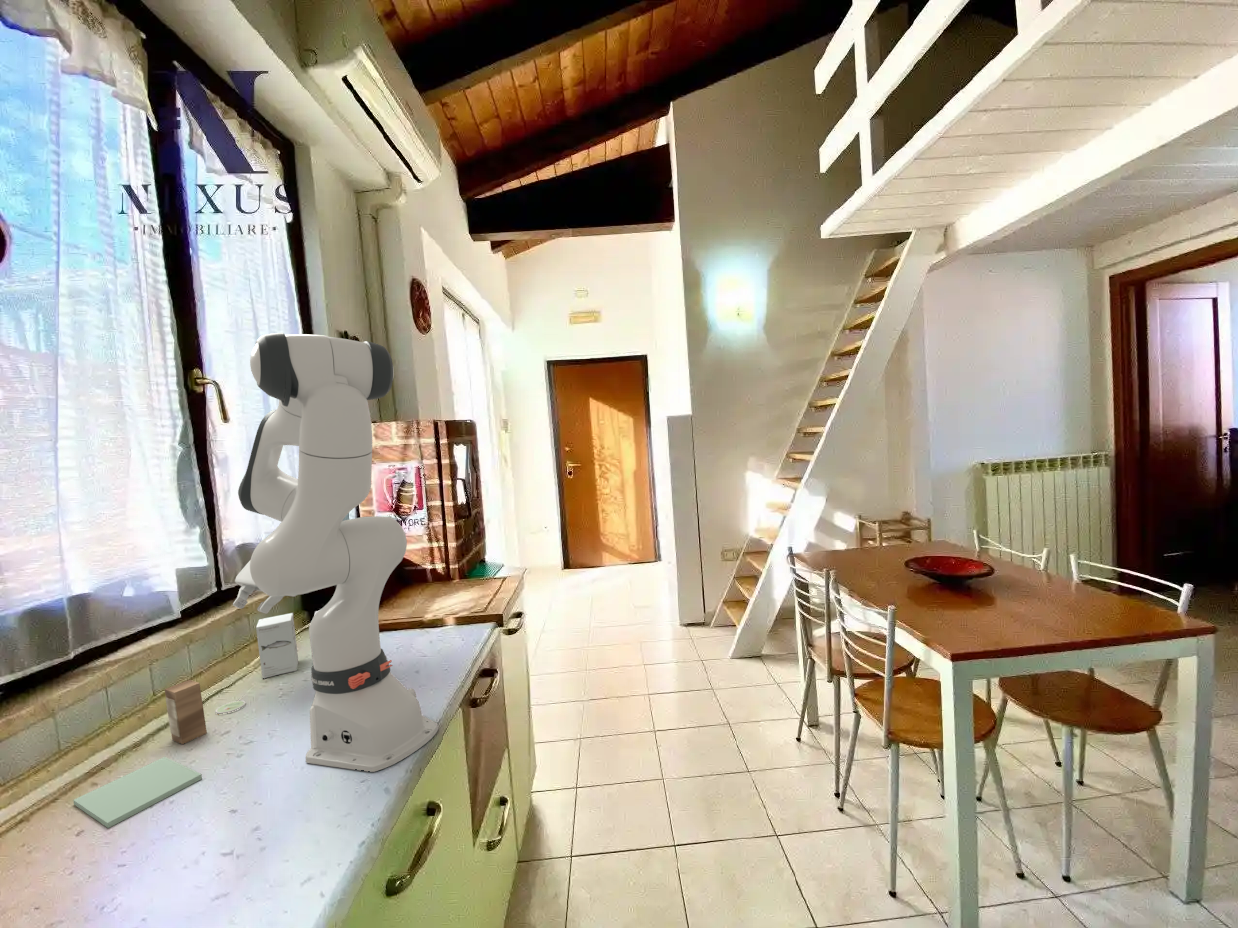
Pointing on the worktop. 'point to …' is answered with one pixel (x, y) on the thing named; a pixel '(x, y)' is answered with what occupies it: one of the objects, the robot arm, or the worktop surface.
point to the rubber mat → (136, 791)
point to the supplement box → (277, 645)
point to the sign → (230, 707)
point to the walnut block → (185, 711)
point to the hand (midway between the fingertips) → (249, 609)
